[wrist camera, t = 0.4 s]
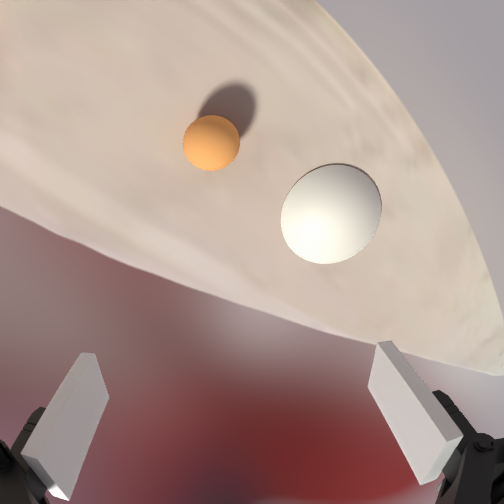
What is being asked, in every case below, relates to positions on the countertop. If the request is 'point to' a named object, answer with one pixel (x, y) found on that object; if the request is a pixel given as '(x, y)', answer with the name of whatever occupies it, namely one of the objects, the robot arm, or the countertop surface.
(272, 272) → the countertop surface
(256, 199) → the countertop surface
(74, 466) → the robot arm
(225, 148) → the ball
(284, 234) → the white plate
